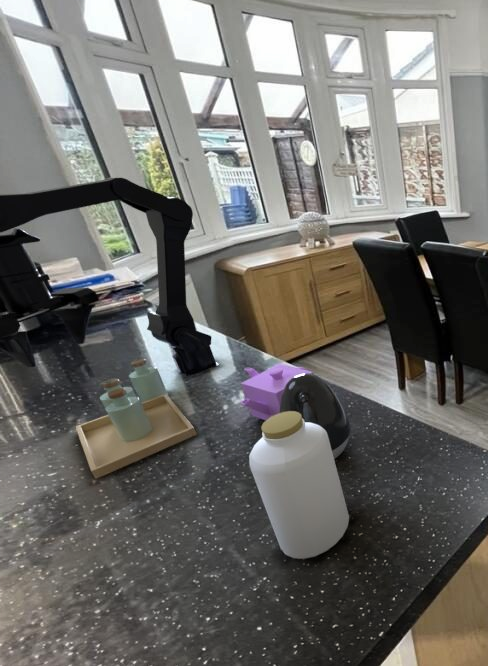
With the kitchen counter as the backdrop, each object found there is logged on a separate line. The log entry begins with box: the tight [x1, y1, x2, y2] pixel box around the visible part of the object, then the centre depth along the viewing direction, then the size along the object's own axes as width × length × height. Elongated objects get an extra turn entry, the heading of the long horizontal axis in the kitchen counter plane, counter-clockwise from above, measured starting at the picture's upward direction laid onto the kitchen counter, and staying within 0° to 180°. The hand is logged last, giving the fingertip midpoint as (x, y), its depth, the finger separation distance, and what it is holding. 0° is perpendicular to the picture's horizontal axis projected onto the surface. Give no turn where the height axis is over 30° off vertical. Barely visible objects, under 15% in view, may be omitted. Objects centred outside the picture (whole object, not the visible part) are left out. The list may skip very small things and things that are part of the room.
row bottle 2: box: [104, 388, 153, 442], centre depth 69 cm, size 4×4×9 cm
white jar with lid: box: [248, 411, 350, 560], centre depth 48 cm, size 8×8×18 cm
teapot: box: [240, 363, 315, 421], centre depth 73 cm, size 18×13×10 cm
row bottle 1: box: [99, 377, 137, 410], centre depth 72 cm, size 4×4×9 cm
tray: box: [75, 394, 198, 479], centre depth 71 cm, size 13×18×2 cm
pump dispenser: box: [279, 373, 352, 460], centre depth 62 cm, size 10×10×15 cm
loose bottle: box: [128, 358, 169, 403], centre depth 80 cm, size 4×4×9 cm
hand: (57, 354), depth 73 cm, fingers open, 9 cm apart
